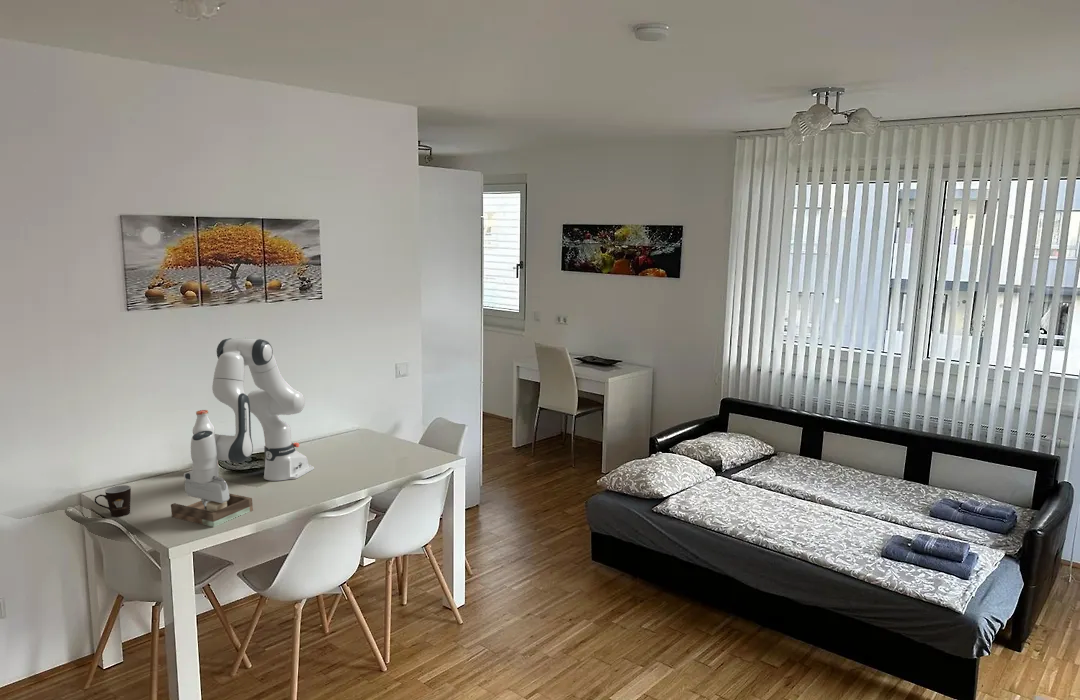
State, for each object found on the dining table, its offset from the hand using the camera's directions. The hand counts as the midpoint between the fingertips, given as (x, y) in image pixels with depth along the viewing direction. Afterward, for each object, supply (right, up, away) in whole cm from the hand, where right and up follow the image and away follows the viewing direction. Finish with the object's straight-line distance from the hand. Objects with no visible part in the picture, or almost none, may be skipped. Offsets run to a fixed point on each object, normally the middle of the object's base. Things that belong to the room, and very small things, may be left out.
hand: (208, 510), depth 278 cm
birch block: (+4, -1, -2) cm, 5 cm away
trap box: (-1, -3, +5) cm, 6 cm away
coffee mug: (-38, -3, +6) cm, 39 cm away
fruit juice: (-26, +5, +56) cm, 62 cm away
